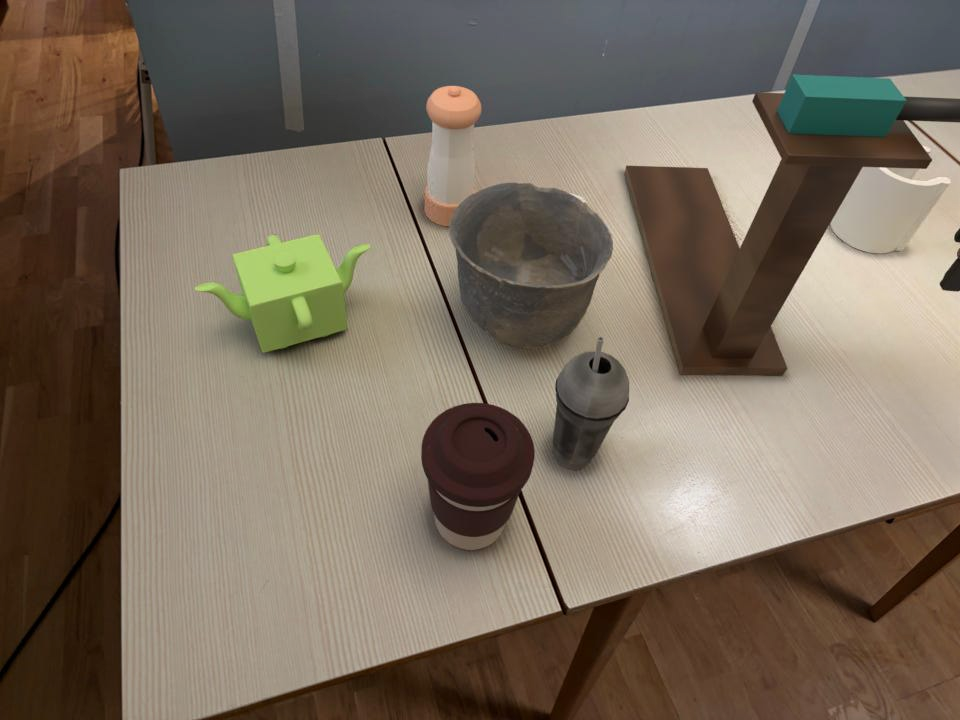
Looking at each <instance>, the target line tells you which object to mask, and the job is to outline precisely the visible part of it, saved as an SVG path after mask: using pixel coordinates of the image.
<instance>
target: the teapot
mask: <svg viewBox="0 0 960 720" xmlns="http://www.w3.org/2000/svg"><path fill="white" fill-rule="evenodd" d="M371 247H372V246H371V244H369V243H363V244H359V245H356V246H354V247H352V248H351V249H350V250H349V251H348V252H347V253H346V255H345V256H344V259H343V260H342V263H341V264H340V266H339V267H337V268H336V267H335V264H334V262H333V260H332V257H331V256H330V253H329V252H328V249H327V247H326V245H325V243H324V241H323V238H322V236H321V234H320V233H317V234H313V235H308V236H304V237H299V238H295V239H291V240H286V241H282V240H281V238H280V236H278V235H277V234H271V235H268V236H267V238H266V246H261V247H257V248H253V249H249V250H245V251H241V252H237V253H233V254H232V260H233V263H234V268H235V271H236V275H237V278H238V281H239V285H240V289H241V292H242V294H235V293H232V292H231V291H230V290H229V289H228V288H227V287H226V286H224V285H223V284H222V283H217V282H205V283H200V284H198V285H196V286H195V287H194V290H195V291H197V292H201V293H207V294H211V295H213V296H215V297H217V298H218V299H219V300H220V301H221V302H222V304H223V305H224V306H225V307H226V309H227V310H228V311H229V312H230V313H231V314H232V315H233V316H235V317H236V318H239V319H241V320H245V321H251V323H252V327H253V329H254V333H255V335H256V338H257V341H258V344H259V347H260V351H261V353H262V354H265V353H269V352H272V351H275V350H283V349H286V348H289V346H293V345H296V344H300V343H304V342H307V341H311V340H314V339H319V338H325V337H328V336H330V335H332V334H336V333H339V332H343V331H346V330H349V326H348V319H347V309H346V302H345V294H346V292H347V291H348V290H349V288H350V287H351V284H352V282H353V278H354V272H355V268H356V265H357V262H358V260H359V258H360V257H361V256H362V255H363V254H364V253H366V252H367V251H369V250H370V249H371Z"/></svg>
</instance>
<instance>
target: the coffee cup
mask: <svg viewBox="0 0 960 720" xmlns="http://www.w3.org/2000/svg"><path fill="white" fill-rule="evenodd" d="M420 450H421V453H420V454H421V455H420V456H421V466H422V469H423V472H424V475H425V478H426V479H427V483H428V492H429V493H428V494H429V501H430V505H431V506H430V507H431V509H432V513H433V517H434V523H435V526H436V530H437V531H438V533H439V534H440V536H441V537H442V538H443V539H444V540H445V541H446V542H447V543H448V544H450V545H451V546H454V547H456V548H458V549H462V550H468V551H476V550H480V549H483V548H486V547H489V546H490V545H492V544H493V543H495V541H497V540H498V539H499V538H500V536H501V535H502V534H503V532H504V529H505V528H506V524H507V522H508V521H509V519H510V518H511V516H512V514H513V511H514V509H515V506H516V504H517V501H518V499H519V495H520V493H521V491H522V489H523V488H524V487H525V486H526V484H527V483H528V481H529V479H530V477H531V475H532V471H533V467H534V464H535V457H536V456H535V453H536V450H535V443H534V440H533V438H532V434H531V433H530V431H529V429H528V428H527V427H526V425H525V424H524V423H523V421H521V419H520V418H518V417H517V416H516V415H514V414H513V413H512V412H510V411H508V410H507V409H505V408H503V407H500V406H497V405H494V404H490V403H486V402H467V403H462V404H458V405H454V406H452V407H450V408H448V409H446V410H444V411H443V412H441V413H440V414H438V415H437V416H436V417H435V418H434V419H433V420H432V421H431V422H430V424H429V425H428V427H427V428H426V430H425V432H424V435H423V437H422V441H421V449H420Z"/></svg>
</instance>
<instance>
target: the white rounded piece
mask: <svg viewBox="0 0 960 720" xmlns="http://www.w3.org/2000/svg"><path fill="white" fill-rule="evenodd" d="M921 145H922V146H923V148H924V149H925V150H926V152H927V153H928V154H929V155H930V154H931V152H932V149H931V148H930V147H928V146H926V145H923V144H921ZM919 170H920V169H912V168H881V167H862V169H861V171H860V173H859V174H858V176H857V178H856V180H855V181H854V183H853V185H852V187H851V188H850V190H849V192H848V193H847V195H846V197H845V199H844V200H843V202H842V204H841V206H840V207H839V209H838V211H837V213H836V214H835V216H834V218H833V219H832V221H831V223H830V225H829V226H830V229H831V230H832V231H833V233H834V234H835V236H836V237H837V238H839V239H840V240H841V241H842V242H844V244H846V245H848V246H850V247H852V248H854V249H857V250H859V251H862V252H865V253H870V254H888V253H892V252H893V251H897V252H902V251H904V249H905V248H906V246H908V243H909V242H910V241H911V239H912V238H913V237H914V235H915V234H916V233H917V231H918V229H920V227H921V225H922V224H923V223H924V221H925V220H926V218H927V217H928V216H929V214H930V213H931V212H932V210H933V208H934V207H935V206H936V204H937V203H938V201H939V200H940V198H941V197H942V196H943V194H944V193H945V192H946V190H947V189H948V187H949V186H950V184H951V183H952V180H951V179H950V178H949V177H948V176H947V177H946V176H936V177H935V178H933V179H929V180H917V179H914V178H915V177H916V175H917V173H918V172H919Z"/></svg>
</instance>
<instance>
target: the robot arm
mask: <svg viewBox="0 0 960 720" xmlns="http://www.w3.org/2000/svg"><path fill="white" fill-rule="evenodd" d="M953 240H954V242H955V243H959V244H960V227H959V228H958V229H957V230H956V232H955V233H954V237H953ZM956 257H957V258H956V259H955V260H954V261H953V262H952V264H951V265H950V266H949V268H948V269H947V270H946V271H945V272H944V275H943V277H942V279H941V280H940V282H939V286H940V289H941V290H942V291H945V292H954V293H955V292H957V293H959V292H960V247H959V248H958V249H957V251H956Z"/></svg>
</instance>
